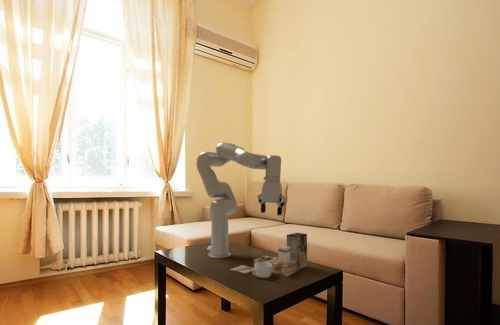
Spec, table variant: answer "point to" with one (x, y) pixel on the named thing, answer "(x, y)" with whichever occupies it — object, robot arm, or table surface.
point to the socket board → (278, 265)
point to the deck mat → (243, 269)
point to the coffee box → (298, 248)
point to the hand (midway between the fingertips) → (271, 213)
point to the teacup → (263, 269)
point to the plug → (284, 255)
